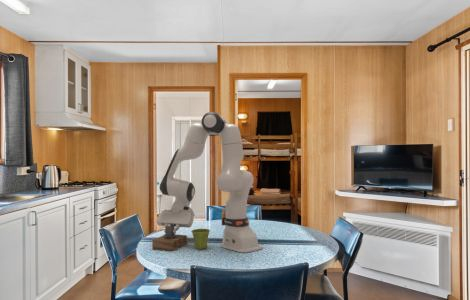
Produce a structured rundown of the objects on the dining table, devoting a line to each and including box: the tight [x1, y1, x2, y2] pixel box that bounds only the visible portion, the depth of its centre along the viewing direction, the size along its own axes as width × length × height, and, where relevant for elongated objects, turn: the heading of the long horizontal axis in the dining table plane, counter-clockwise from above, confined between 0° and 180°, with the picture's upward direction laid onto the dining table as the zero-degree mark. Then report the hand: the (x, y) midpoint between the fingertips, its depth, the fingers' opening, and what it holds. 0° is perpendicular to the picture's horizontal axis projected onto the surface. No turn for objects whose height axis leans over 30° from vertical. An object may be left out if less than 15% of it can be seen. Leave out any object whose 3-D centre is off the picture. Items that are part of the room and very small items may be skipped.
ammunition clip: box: [221, 206, 226, 226], centre depth 222 cm, size 11×2×12 cm, turn 108°
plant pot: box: [191, 228, 211, 250], centre depth 165 cm, size 9×9×9 cm
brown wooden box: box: [151, 233, 188, 252], centre depth 168 cm, size 14×12×5 cm
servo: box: [163, 224, 176, 239], centre depth 168 cm, size 6×3×9 cm, turn 160°
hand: (169, 232), depth 167 cm, fingers closed on servo, 3 cm apart
